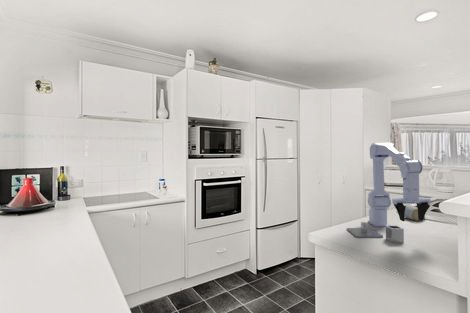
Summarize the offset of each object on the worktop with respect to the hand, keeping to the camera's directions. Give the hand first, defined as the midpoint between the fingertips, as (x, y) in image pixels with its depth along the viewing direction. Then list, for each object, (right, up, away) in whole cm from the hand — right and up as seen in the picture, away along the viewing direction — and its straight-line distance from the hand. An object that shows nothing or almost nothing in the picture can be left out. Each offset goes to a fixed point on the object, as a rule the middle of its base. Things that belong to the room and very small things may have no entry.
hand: (411, 220), depth 109 cm
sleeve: (-4, -10, +5) cm, 12 cm away
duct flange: (-13, -10, +15) cm, 22 cm away
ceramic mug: (+27, -9, +37) cm, 46 cm away
